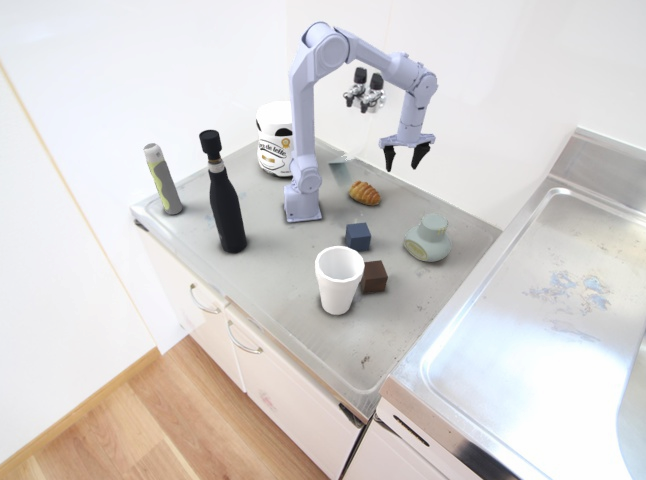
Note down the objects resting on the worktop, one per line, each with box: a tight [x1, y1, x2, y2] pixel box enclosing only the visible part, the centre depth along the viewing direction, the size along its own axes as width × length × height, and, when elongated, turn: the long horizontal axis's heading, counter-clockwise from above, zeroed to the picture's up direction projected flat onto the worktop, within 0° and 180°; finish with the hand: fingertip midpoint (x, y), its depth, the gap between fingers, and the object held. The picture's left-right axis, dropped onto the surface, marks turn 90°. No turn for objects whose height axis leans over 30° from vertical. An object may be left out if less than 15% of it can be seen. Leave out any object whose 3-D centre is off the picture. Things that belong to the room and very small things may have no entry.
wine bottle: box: [198, 129, 248, 254], centre depth 77 cm, size 6×6×30 cm
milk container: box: [255, 100, 294, 178], centre depth 105 cm, size 17×17×18 cm
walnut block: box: [359, 259, 389, 295], centre depth 77 cm, size 5×5×5 cm
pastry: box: [348, 180, 382, 207], centre depth 98 cm, size 9×7×4 cm
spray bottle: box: [142, 142, 183, 215], centre depth 90 cm, size 5×5×20 cm
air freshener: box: [403, 212, 452, 263], centre depth 81 cm, size 11×8×10 cm
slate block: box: [344, 221, 372, 253], centre depth 85 cm, size 5×5×5 cm
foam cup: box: [314, 245, 365, 316], centre depth 70 cm, size 10×9×13 cm
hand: (400, 168), depth 95 cm, fingers open, 7 cm apart
